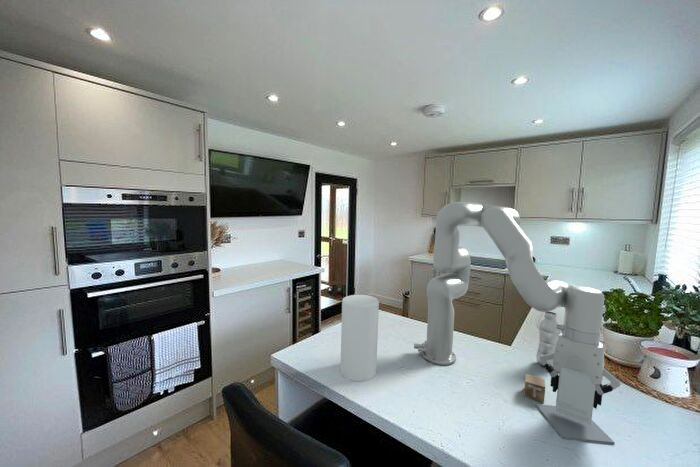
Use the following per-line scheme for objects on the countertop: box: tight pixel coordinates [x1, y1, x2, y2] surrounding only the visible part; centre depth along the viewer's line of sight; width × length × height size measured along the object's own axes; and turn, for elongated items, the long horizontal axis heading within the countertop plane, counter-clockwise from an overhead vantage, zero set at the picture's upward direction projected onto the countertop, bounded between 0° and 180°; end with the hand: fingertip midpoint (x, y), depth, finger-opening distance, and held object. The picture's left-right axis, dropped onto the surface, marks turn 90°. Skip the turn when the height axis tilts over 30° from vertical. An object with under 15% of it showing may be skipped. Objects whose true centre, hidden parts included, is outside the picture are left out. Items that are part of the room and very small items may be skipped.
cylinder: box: [339, 294, 380, 382], centre depth 97 cm, size 12×12×25 cm
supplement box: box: [555, 367, 596, 425], centre depth 75 cm, size 7×7×13 cm
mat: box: [535, 403, 615, 445], centre depth 76 cm, size 12×12×1 cm
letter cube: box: [523, 373, 546, 403], centre depth 87 cm, size 5×5×5 cm
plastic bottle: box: [535, 311, 561, 367], centre depth 104 cm, size 6×7×20 cm
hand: (574, 397), depth 75 cm, fingers closed on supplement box, 8 cm apart
